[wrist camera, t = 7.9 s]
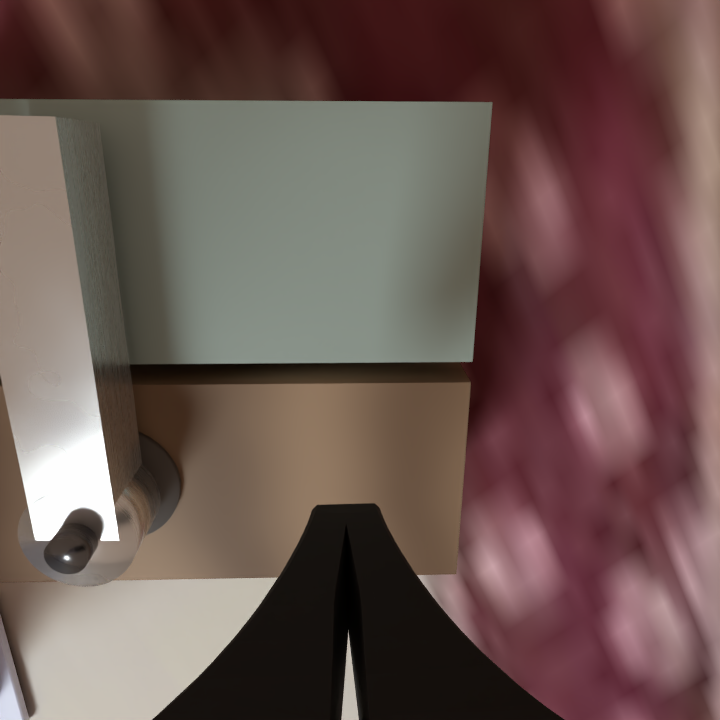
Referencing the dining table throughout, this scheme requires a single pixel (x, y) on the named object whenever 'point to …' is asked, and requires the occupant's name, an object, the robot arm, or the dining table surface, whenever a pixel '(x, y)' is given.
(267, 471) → the jamb
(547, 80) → the dining table surface
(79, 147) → the lock bar
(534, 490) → the dining table surface
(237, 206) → the grey-green rectangular block
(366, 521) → the robot arm
